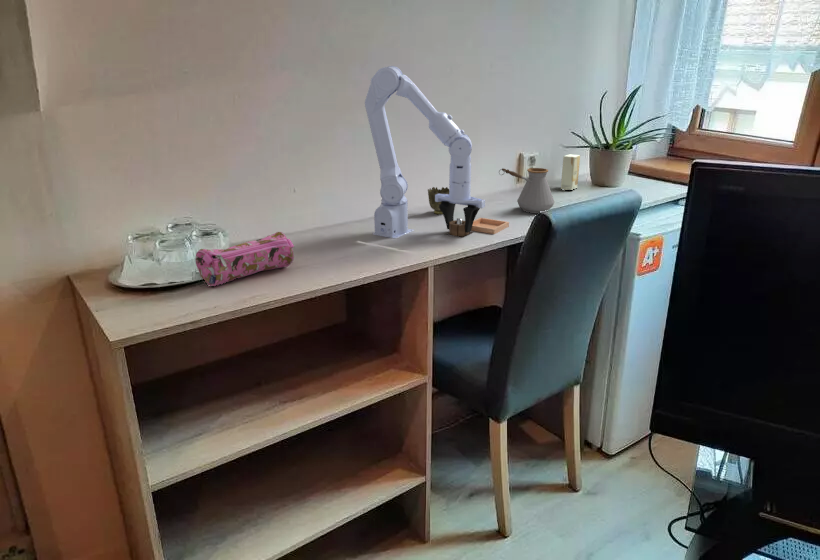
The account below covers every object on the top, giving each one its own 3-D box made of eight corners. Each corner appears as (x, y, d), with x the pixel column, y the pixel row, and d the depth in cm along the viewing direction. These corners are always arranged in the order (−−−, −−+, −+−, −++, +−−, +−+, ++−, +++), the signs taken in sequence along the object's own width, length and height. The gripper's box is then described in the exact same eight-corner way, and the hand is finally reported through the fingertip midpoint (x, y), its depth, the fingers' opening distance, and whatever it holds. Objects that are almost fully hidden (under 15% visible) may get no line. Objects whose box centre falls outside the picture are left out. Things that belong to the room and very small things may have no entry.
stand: (463, 239, 167) (463, 222, 166) (444, 235, 171) (444, 219, 169) (473, 234, 172) (474, 217, 170) (455, 230, 175) (455, 214, 174)
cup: (452, 211, 195) (452, 186, 192) (451, 217, 188) (451, 191, 186) (428, 211, 196) (428, 186, 193) (426, 217, 189) (426, 191, 186)
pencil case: (213, 293, 133) (208, 254, 130) (195, 282, 139) (189, 244, 136) (299, 270, 146) (296, 234, 143) (278, 261, 152) (275, 226, 149)
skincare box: (571, 191, 220) (574, 157, 216) (560, 190, 222) (562, 156, 218) (577, 188, 225) (580, 154, 221) (566, 187, 227) (569, 153, 223)
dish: (494, 235, 170) (494, 229, 170) (464, 230, 175) (465, 224, 174) (508, 228, 177) (509, 221, 177) (480, 223, 182) (480, 217, 182)
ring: (462, 237, 168) (462, 226, 167) (446, 234, 171) (446, 223, 169) (471, 232, 172) (472, 221, 171) (455, 229, 175) (455, 219, 174)
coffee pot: (534, 204, 204) (537, 158, 198) (561, 211, 195) (565, 163, 189) (485, 214, 192) (487, 165, 187) (511, 222, 183) (514, 171, 178)
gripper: (491, 181, 165) (489, 230, 170) (444, 175, 173) (443, 222, 178) (478, 186, 160) (477, 236, 165) (431, 180, 167) (430, 228, 172)
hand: (459, 230), depth 171 cm, fingers closed on ring, 5 cm apart
